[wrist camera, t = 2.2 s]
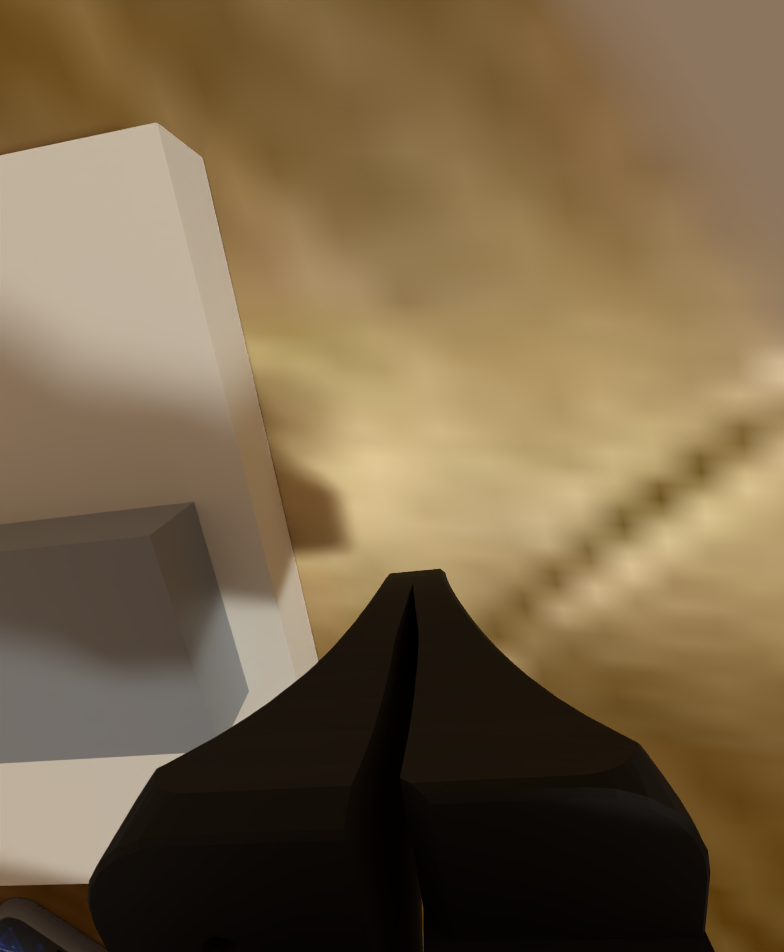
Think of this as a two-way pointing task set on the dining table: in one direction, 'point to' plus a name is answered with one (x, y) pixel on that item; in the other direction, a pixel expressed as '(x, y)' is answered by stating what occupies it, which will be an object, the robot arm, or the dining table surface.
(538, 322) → the dining table surface
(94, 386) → the white flat board
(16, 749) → the grey bevelled tile
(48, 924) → the smartphone
